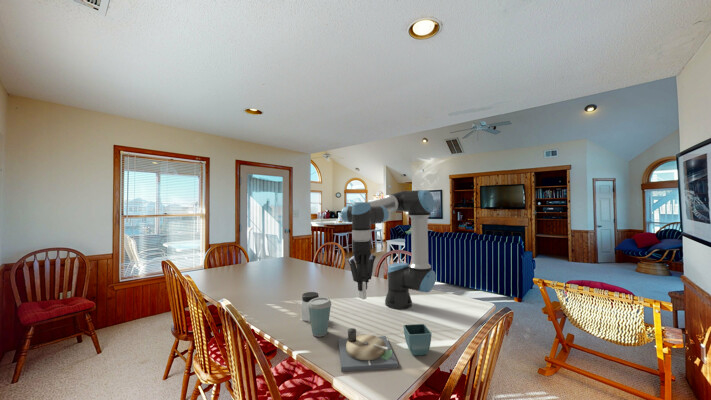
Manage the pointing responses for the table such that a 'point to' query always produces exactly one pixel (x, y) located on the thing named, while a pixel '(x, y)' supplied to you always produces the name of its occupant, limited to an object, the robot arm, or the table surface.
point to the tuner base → (356, 364)
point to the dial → (364, 346)
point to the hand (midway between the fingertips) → (362, 298)
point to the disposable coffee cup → (319, 315)
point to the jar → (305, 299)
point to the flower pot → (417, 338)
